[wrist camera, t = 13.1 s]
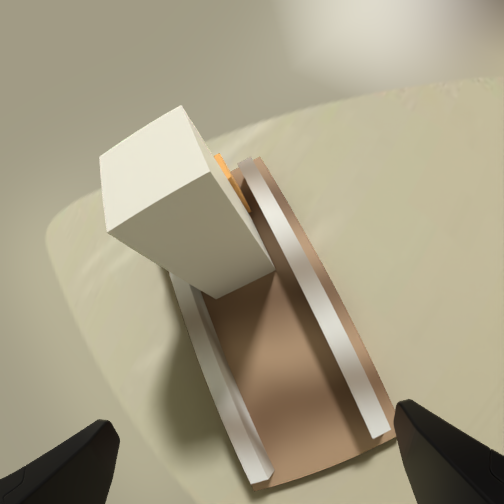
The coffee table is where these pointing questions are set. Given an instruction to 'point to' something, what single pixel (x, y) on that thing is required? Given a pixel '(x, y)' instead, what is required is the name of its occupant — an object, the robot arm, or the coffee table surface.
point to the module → (180, 207)
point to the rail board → (285, 354)
